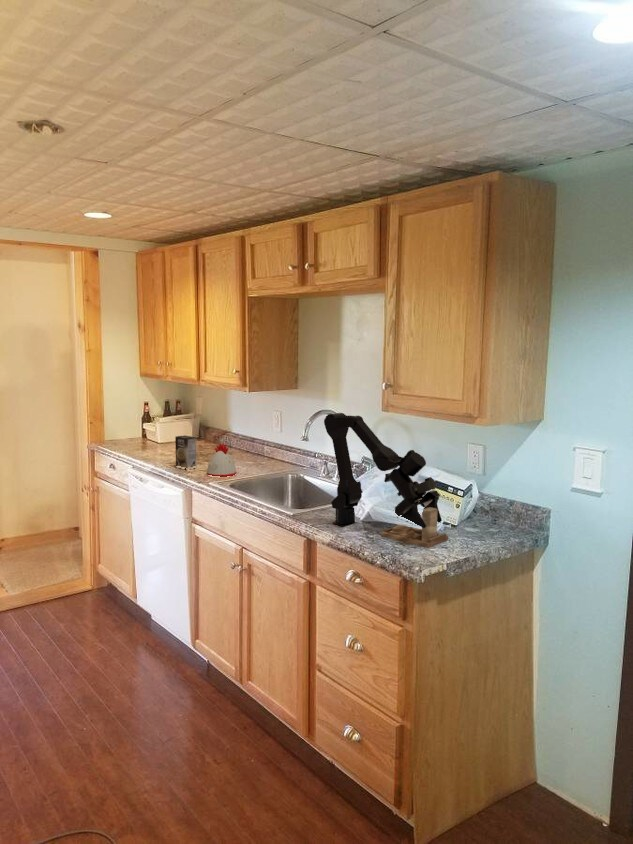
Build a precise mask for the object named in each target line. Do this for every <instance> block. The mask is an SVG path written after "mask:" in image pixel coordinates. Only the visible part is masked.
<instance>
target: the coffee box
mask: <svg viewBox="0 0 633 844" xmlns="http://www.w3.org/2000/svg"><path fill="white" fill-rule="evenodd" d="M174 442H175V467H176V466H181V467H186V468H188V467H193V466H197V437H196V436H192V435H191V436H190V435H186V434H185V435H178V436H177V435H176V436H175V440H174Z"/></svg>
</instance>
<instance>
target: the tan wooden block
mask: <svg viewBox="0 0 633 844" xmlns="http://www.w3.org/2000/svg"><path fill="white" fill-rule="evenodd" d="M424 508H425V507H424ZM424 508H423V509H422V510H423V512H422V519H423V521H424V522H425V524H426V527H425V528H422V527H421V530H422V541H424V542H428V539H431V538H433V537H435V536H437V532H438V523H437V510H439V508H438V509H436V508H431V507H428V508H425V509H424Z"/></svg>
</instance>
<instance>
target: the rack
mask: <svg viewBox="0 0 633 844" xmlns="http://www.w3.org/2000/svg"><path fill="white" fill-rule="evenodd" d="M398 525H399V524H398ZM398 525H394V526H391V527H390V528H387V529H384V530H383V531H381V532H380V537H383V538H387V539H389V540H390V539H391V540H394V541H398V542H402V543H407V544H410V545H414V546H417V547H422V548H426V549H430V548H432V547H435V546H436V545H440V544H441V543H444V542H446V541H449V535H447V533H445V532H443V533H437V536H435V537H433V538H431V539H428V542H424V541H422V528H417V527H412V526H411V527H412V531H414V532H415V535H414V536H411V537H409V538H407V537H403V536H399V535H395V534H391V533H390V531H392V528H393V527H395V526H398ZM401 525H402V526H405V525H403V524H401ZM406 526H407V525H406ZM407 527H409V526H407Z"/></svg>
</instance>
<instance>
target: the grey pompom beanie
mask: <svg viewBox="0 0 633 844" xmlns="http://www.w3.org/2000/svg"><path fill="white" fill-rule="evenodd" d="M228 450H229V448H228V447H227V445H226V444H225V445H224V444H221V443H219V444H218V445H217V446H216V447H215V448H214V451H215V453H214V454H213V455H212V456H211V458H210V460H209V462H208V465H207V469H206V475H207V474H208V475H212V476H220V477H227V476H233V475H235V474H236V475H237V468H236V465H235V462H236V461H235V460H234V459H233V458H232V456H231V455H230V454H229V453H228Z"/></svg>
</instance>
